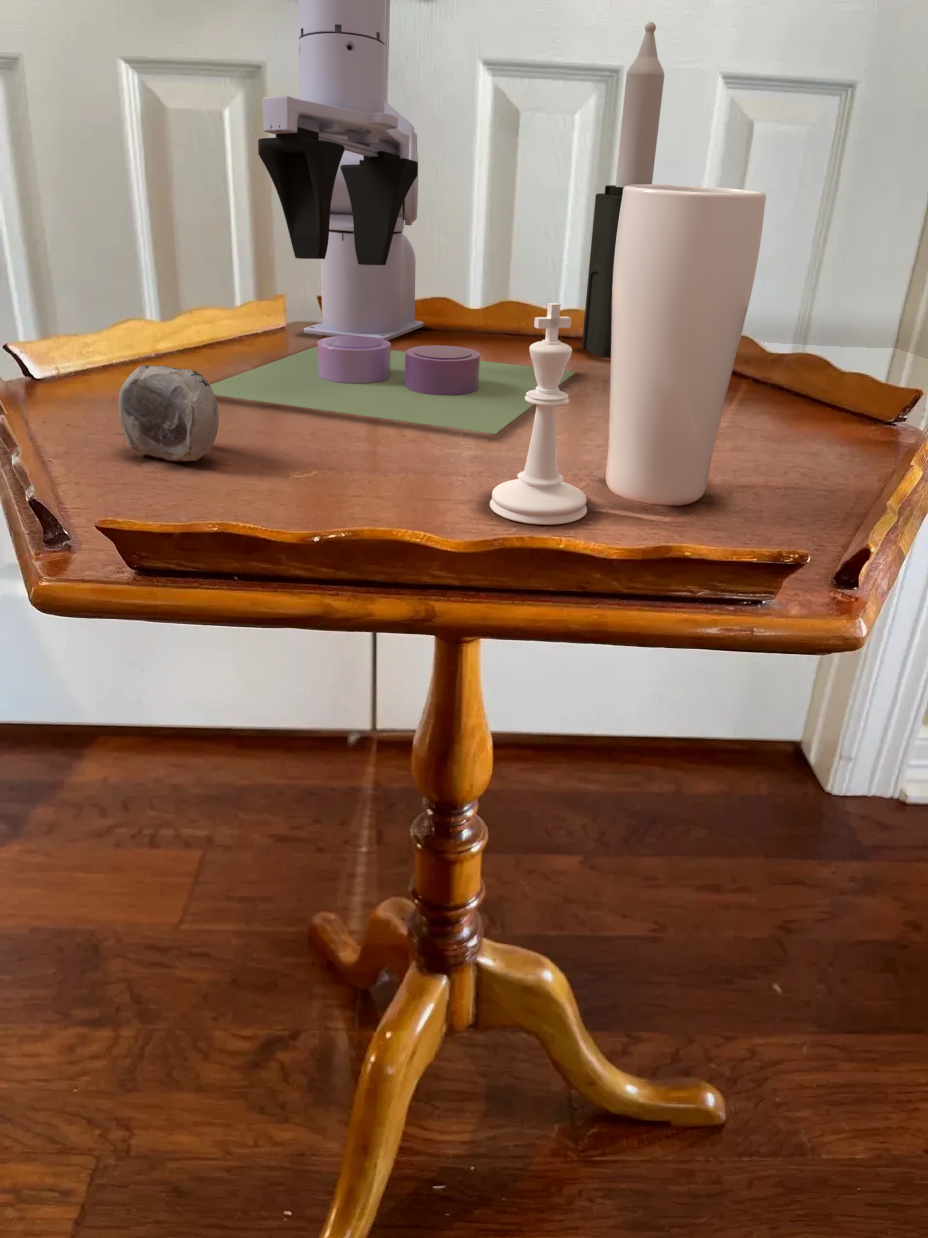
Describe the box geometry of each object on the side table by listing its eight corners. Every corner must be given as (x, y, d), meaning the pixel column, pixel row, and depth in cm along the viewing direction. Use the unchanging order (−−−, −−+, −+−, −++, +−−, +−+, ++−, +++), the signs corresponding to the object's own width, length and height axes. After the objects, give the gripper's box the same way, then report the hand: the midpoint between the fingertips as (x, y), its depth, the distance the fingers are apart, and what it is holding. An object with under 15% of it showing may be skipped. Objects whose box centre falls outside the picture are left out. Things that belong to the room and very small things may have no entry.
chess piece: (604, 519, 49) (627, 311, 45) (513, 529, 47) (528, 313, 43) (559, 488, 53) (576, 294, 49) (474, 496, 51) (484, 296, 47)
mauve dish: (421, 374, 75) (422, 341, 74) (488, 383, 73) (490, 349, 72) (392, 389, 70) (392, 354, 69) (463, 398, 69) (465, 362, 68)
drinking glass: (580, 472, 56) (608, 182, 49) (698, 474, 56) (741, 187, 50) (604, 514, 50) (639, 189, 43) (735, 516, 50) (790, 196, 44)
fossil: (107, 455, 55) (96, 364, 53) (146, 440, 58) (137, 353, 56) (204, 472, 53) (197, 379, 51) (240, 456, 56) (234, 367, 54)
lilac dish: (338, 364, 77) (337, 331, 76) (402, 372, 75) (402, 339, 74) (304, 378, 72) (303, 343, 71) (372, 386, 71) (372, 351, 70)
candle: (577, 348, 88) (606, 21, 77) (629, 347, 89) (665, 26, 78) (601, 361, 84) (635, 15, 73) (655, 359, 85) (697, 21, 74)
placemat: (326, 345, 85) (326, 342, 85) (575, 375, 78) (576, 371, 78) (191, 395, 68) (191, 391, 68) (495, 438, 61) (495, 433, 61)
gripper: (327, 8, 58) (329, 255, 62) (447, 64, 70) (442, 267, 74) (233, 19, 61) (240, 254, 65) (364, 71, 73) (363, 266, 77)
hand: (342, 261), depth 70 cm, fingers open, 7 cm apart
